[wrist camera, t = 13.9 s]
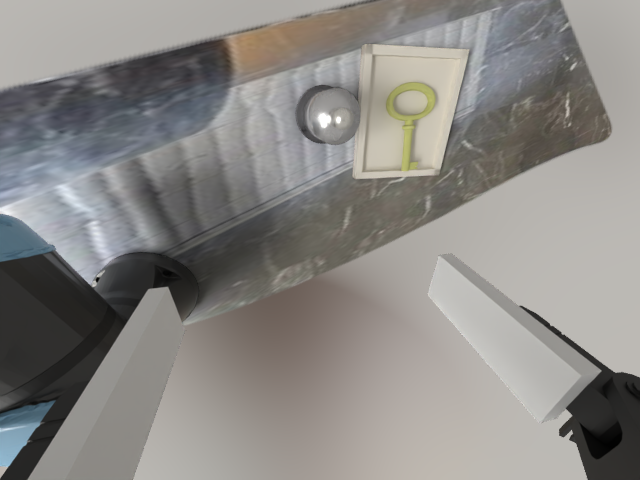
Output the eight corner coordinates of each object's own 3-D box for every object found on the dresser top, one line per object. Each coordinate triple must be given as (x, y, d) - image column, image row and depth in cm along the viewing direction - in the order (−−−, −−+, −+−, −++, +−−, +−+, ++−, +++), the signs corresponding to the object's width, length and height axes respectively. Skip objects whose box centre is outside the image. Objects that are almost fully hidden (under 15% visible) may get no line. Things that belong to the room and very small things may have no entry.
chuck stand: (296, 142, 35) (310, 156, 25) (294, 85, 32) (309, 75, 22) (342, 141, 37) (373, 154, 26) (344, 86, 33) (381, 77, 23)
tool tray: (352, 176, 40) (355, 179, 38) (361, 46, 31) (365, 43, 30) (433, 172, 42) (439, 174, 41) (461, 51, 34) (469, 49, 33)
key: (397, 173, 40) (404, 176, 38) (382, 92, 34) (389, 91, 32) (436, 156, 40) (445, 158, 38) (428, 72, 34) (438, 70, 32)
